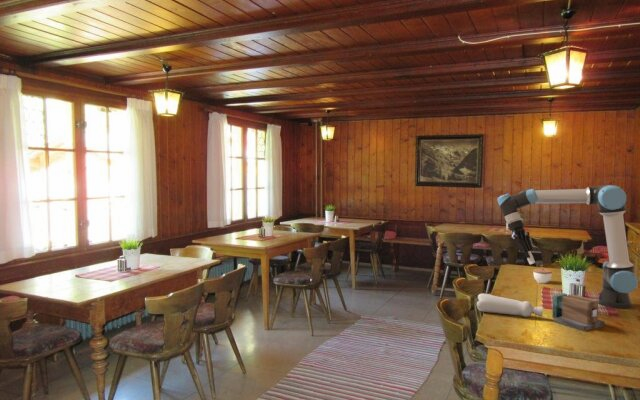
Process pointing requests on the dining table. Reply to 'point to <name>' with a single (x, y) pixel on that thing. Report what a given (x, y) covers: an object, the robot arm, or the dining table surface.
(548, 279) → the lidded jar
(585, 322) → the bearing block
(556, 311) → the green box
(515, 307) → the bottle
